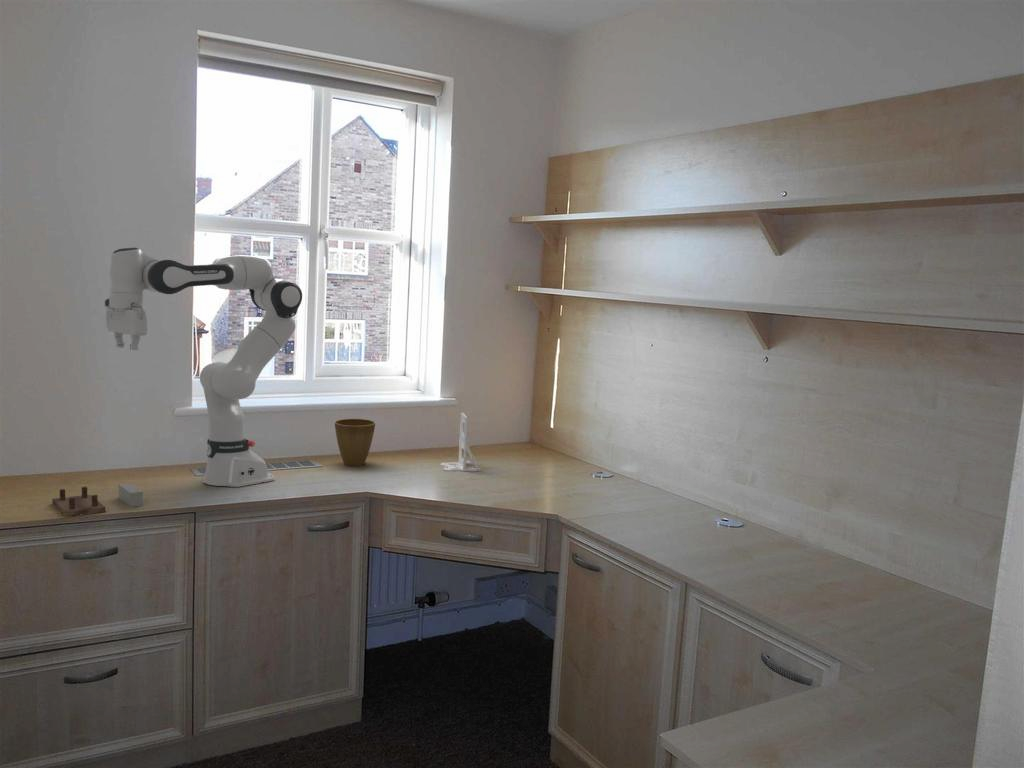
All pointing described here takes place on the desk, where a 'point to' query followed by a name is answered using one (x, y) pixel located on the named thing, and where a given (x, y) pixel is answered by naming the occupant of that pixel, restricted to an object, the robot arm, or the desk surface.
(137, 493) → the grey rectangular block
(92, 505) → the footed brown board
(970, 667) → the desk surface
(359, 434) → the plant pot
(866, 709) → the desk surface
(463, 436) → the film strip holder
